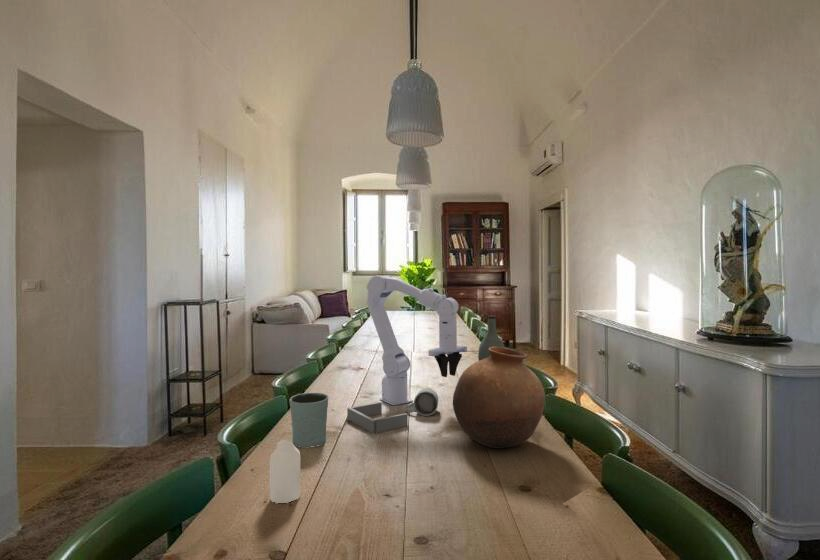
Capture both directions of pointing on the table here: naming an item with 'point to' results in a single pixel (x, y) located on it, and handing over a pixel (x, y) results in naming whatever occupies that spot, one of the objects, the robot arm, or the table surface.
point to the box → (378, 425)
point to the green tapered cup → (309, 418)
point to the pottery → (499, 399)
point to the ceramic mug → (424, 402)
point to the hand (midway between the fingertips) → (448, 375)
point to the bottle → (489, 339)
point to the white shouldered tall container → (285, 473)
